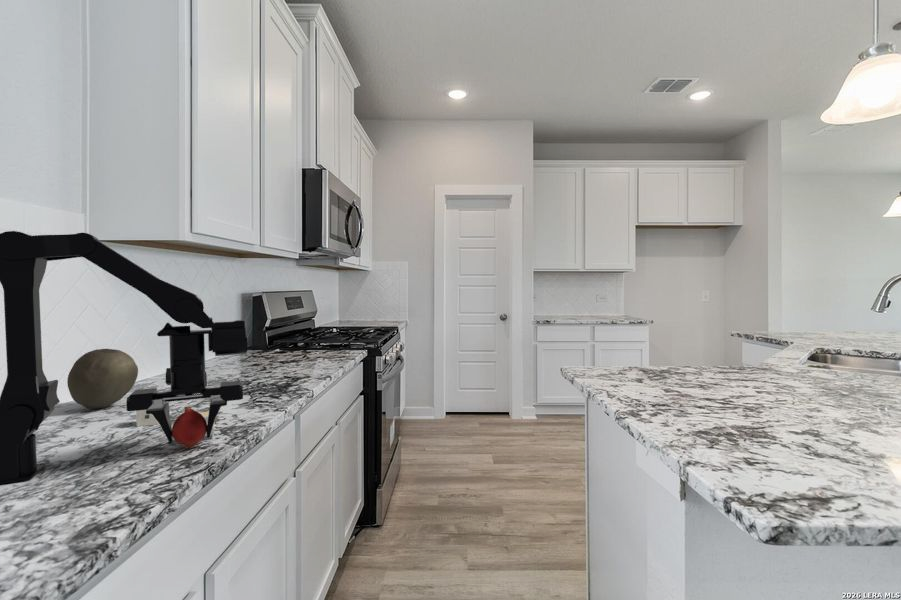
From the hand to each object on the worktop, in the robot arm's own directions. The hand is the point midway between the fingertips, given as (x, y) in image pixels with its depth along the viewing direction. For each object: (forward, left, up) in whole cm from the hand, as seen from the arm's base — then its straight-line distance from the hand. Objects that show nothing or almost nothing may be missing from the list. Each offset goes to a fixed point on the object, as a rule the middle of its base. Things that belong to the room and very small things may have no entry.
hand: (190, 439), depth 86 cm
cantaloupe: (+45, +23, -2) cm, 51 cm away
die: (+23, +10, -2) cm, 25 cm away
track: (+14, 0, -2) cm, 14 cm away
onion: (0, 0, -2) cm, 2 cm away
